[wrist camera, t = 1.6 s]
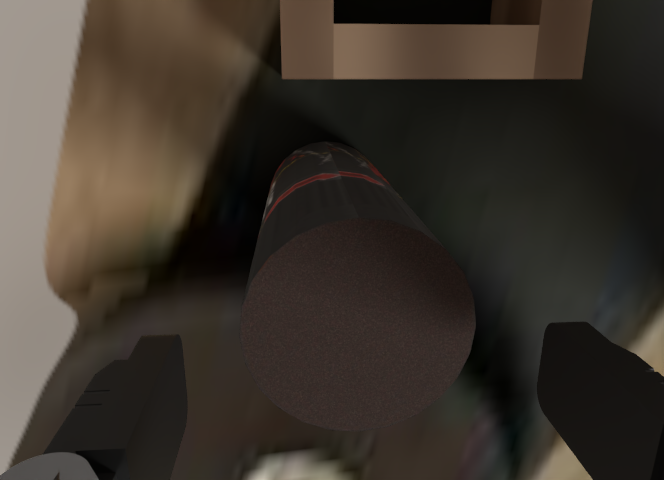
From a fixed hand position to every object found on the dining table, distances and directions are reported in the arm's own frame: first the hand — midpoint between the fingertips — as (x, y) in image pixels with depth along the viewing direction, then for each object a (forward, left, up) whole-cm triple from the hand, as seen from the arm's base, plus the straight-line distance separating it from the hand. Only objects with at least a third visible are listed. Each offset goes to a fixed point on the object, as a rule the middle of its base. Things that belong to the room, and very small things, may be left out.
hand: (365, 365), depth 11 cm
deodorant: (0, 0, -17) cm, 17 cm away
